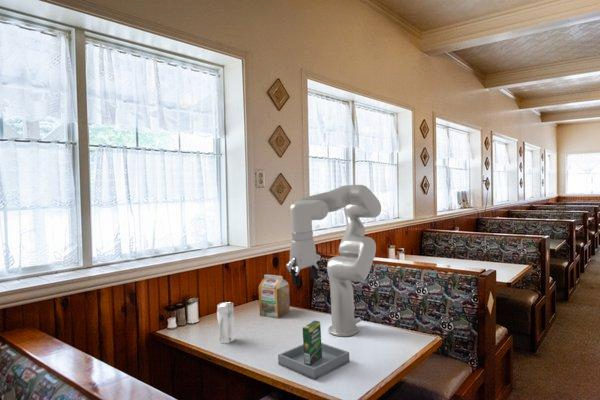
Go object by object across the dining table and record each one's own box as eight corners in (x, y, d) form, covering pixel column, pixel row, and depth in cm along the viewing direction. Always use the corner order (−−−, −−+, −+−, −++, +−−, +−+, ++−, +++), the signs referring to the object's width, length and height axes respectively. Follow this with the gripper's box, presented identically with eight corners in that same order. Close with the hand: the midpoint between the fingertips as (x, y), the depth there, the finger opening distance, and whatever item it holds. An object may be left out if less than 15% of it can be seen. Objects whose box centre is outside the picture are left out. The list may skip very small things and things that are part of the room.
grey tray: (313, 348, 157) (313, 339, 157) (349, 362, 144) (349, 352, 144) (278, 364, 145) (277, 354, 144) (314, 380, 132) (313, 369, 132)
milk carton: (290, 312, 203) (288, 273, 202) (277, 318, 194) (276, 278, 193) (272, 309, 208) (270, 272, 208) (259, 315, 199) (257, 276, 199)
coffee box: (310, 366, 140) (308, 328, 139) (303, 364, 142) (301, 327, 141) (322, 357, 147) (321, 321, 146) (315, 356, 148) (314, 319, 148)
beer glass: (239, 338, 171) (237, 302, 170) (229, 344, 165) (227, 307, 164) (225, 336, 174) (223, 301, 173) (215, 342, 167) (213, 306, 167)
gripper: (310, 232, 160) (313, 275, 161) (278, 239, 147) (281, 286, 149) (325, 233, 155) (328, 278, 156) (293, 241, 142) (296, 289, 143)
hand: (305, 282), depth 152 cm, fingers open, 9 cm apart
